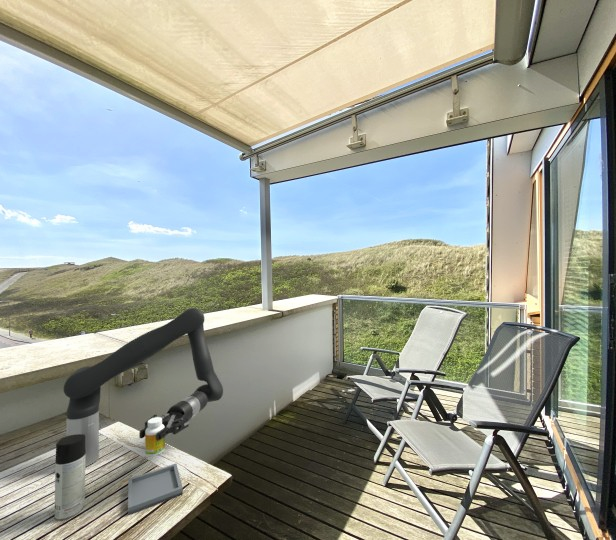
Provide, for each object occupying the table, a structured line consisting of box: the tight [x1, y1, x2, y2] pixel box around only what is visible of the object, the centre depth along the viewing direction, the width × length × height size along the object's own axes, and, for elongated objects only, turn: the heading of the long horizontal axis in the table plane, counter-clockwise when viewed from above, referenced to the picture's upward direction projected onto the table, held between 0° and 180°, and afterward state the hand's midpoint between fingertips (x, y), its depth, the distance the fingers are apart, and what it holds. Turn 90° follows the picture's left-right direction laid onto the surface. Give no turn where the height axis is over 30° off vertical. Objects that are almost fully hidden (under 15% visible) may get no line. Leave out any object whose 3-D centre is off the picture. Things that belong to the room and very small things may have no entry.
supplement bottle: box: [144, 416, 166, 457], centre depth 90 cm, size 5×5×10 cm
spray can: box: [53, 434, 86, 521], centre depth 82 cm, size 7×7×20 cm
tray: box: [127, 463, 184, 516], centre depth 90 cm, size 14×14×2 cm
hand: (148, 436), depth 88 cm, fingers closed on supplement bottle, 5 cm apart
